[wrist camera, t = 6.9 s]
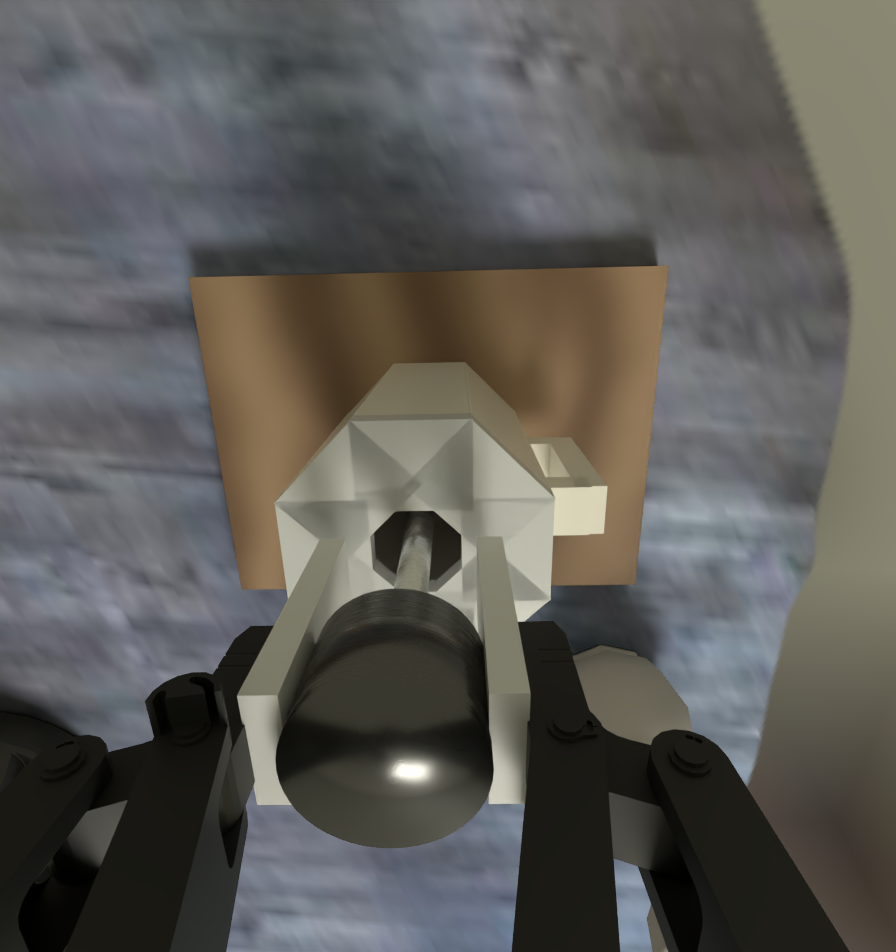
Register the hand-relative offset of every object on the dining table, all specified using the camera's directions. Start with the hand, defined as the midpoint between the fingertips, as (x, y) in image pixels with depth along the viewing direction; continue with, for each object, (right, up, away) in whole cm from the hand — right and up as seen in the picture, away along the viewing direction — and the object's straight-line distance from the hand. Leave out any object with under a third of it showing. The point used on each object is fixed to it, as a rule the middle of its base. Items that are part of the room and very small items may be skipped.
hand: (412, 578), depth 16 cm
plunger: (0, +4, +12) cm, 13 cm away
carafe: (+2, +5, +14) cm, 15 cm away
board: (0, +5, +15) cm, 16 cm away
